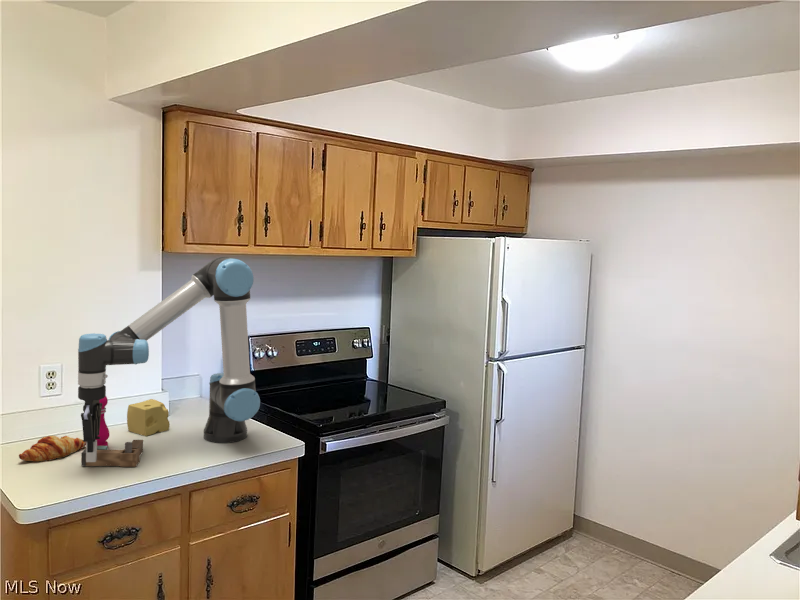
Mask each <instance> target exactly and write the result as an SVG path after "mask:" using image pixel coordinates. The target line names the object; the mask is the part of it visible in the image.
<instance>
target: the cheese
mask: <svg viewBox="0 0 800 600" xmlns="http://www.w3.org/2000/svg"><path fill="white" fill-rule="evenodd" d="M169 414H170V413H169V410H168V408H167V406H166V405H165V404H164V403H163V402H161V401H159V400H158V399H154V398H150V399H147V400H143V401H139V402H136V403H131V404H128V407H127V412H126V424H127V430H128V432H130V433H134V434H137V435H141V436H143V437H148V436H151V435H155V434H156V433H163V432H167V431H169V430H170V427H171V426H170V425H171V424H170V420H169V417H170V415H169Z"/></svg>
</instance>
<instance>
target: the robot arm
mask: <svg viewBox="0 0 800 600" xmlns="http://www.w3.org/2000/svg"><path fill="white" fill-rule="evenodd" d="M254 279H255V278H254V274H253V271H252V268H251V267H250V266H249V265H248V264H247V263H245V262H244V261H243V260H240V259H238V258H233V257H231V258H230V257H228V256H218V257H216V258H214V259H212V260H211V261H209V262H208V263H206V264H205V265H204V266H203V267H201V268H200V269H198V271H196V272H195V273H194V274H192V275H191V279H190V280H189V281H187V282H186V283H184V284H183V285H182V286H181V287H179V288H178V289H176V290H175V291H174V292H173V293H171V294H169V295H168V296H167V297H166V298H164V299H162V301H160V302H158V303H157V304H156V305H154V306H153V307H152V308H150V309H149V310H148V311H146V312H145V313H144V314H142V315H141V316H139V317H138V318H137V319H135V320H134V321H133V322H130V324H128V325H127V326H125V327H124V328H123V329H122V330H118V331H114V332H113V333H112V334H111V335H110V336H109V338H107V335H106V334H104V333H95V332H94V333H84V334H81V336H79V338H78V348H77V355H78V356H77V357H78V361H77V362H78V364H77V365H78V366H77V367H78V370H77V371H78V374H77V375H78V376H77V385H78V389H77V398H78V399H79V400H80V401H84V405H83V407H82V410H83V411H82V412H81V413H80V418H81V424H82V435H83V439H82V440H83V442H86V446H85V449H86V462H96V461H97V440H96V439H100V437H98V435H99V434H100V433H99V432H100V419H101V409H102V403H99V400H100V399H103V398H105V396H106V397H107V393H106V392H107V391H106V390H107V386H106V383H107V382H106V381H107V378H108V377H109V376H108V374H106V372H107V371H106V370H107V366H119V365H139V364H145V363H147V362H149V361H148V360H149V357H150V347H149V343H148V340H150V339H152V337H154V336H155V335H156V334H158V333H160V332H161V331H162V330H163V329H164V328H166V327H168V326H169V325H170V324H172V323H174V321H176V320H177V319H179V318H180V317H181V316H182V315H184V314H185V313H186V312H187V311H189V310H191V309H192V308H193V307H194V306H196V305H197V304H198V303H200V302H201V301H202V300H204V299H207V298H208V299H210V298H212V297H213V300H214V302H215V303H216V304H218V307H219V321H220V337H221V339H220V340H221V351H222V353H221V354H222V355H221V356H222V366H223V367H222V368H223V372H217V373H213V374H211V375H210V376H209V377H210V378H209V383H208V384H209V405H208V406H209V407H208V418H207V421H206V423H205V426H204V429H203V439H205V440H206V441H208V442H212V443H221V444H223V443H224V444H226V443H235V442H240V441H243V440H245V439H246V438H247V437H248V427H247V425H246V421H249V419H252V418H253V417H254V416H255V415H256V414H257V413H258V412H259V409H260V406H261V399H260V396H259V393H258V392H257V391H256V378H255V376H254V375H252V374H251V370H250V350H249V336H248V335H249V333H248V332H249V331H248V316H247V312H248V311H247V304H248V302H249V301H250V300H251V289H252V288H253V285H254Z"/></svg>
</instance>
